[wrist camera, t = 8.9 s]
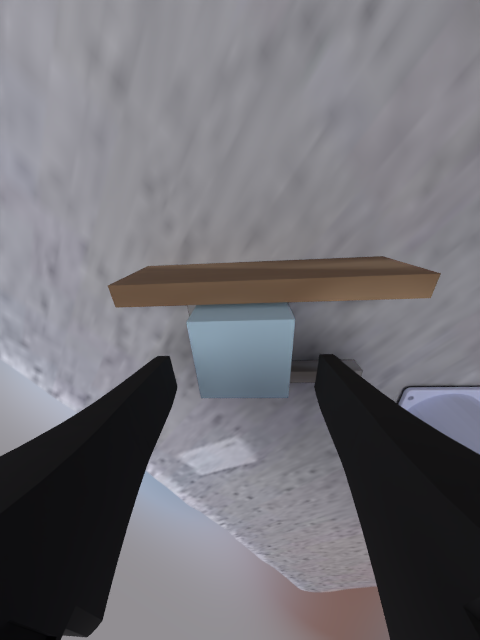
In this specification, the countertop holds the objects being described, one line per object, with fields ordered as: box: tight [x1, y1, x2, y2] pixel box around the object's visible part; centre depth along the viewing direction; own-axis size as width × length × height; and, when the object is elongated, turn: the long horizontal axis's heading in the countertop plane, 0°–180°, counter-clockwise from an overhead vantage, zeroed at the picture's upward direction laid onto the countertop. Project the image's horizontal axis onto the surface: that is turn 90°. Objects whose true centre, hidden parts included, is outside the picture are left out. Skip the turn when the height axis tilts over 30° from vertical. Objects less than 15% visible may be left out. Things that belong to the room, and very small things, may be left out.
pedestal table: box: [108, 256, 441, 383], centre depth 14 cm, size 10×16×4 cm, turn 93°
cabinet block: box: [186, 302, 295, 398], centre depth 13 cm, size 6×5×6 cm
